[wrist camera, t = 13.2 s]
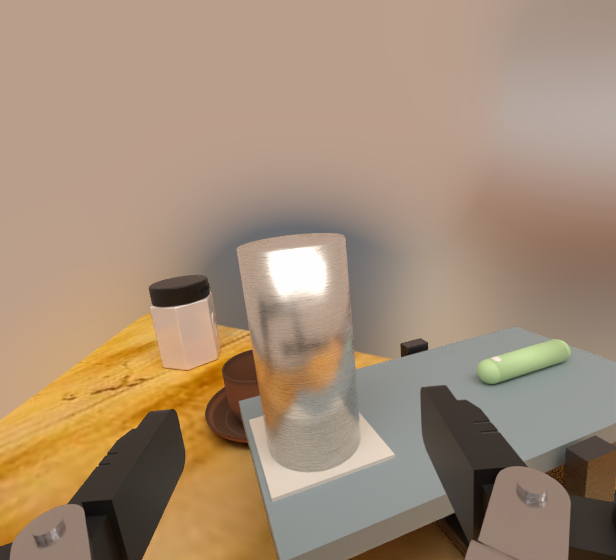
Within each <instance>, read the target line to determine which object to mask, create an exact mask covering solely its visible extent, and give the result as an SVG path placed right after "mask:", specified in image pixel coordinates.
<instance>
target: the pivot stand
mask: <svg viewBox="0 0 616 560" xmlns="http://www.w3.org/2000/svg"><path fill="white" fill-rule="evenodd" d="M426 350H428V342H426V341H424V340H423V339H416V340H412V341H409V342H405V343H401V357H404V356H408V355H412V354H415V353H419V352H423V351H426ZM615 476H616V446H614V445H612V444H610V443H608V442H607V441H605V440H603V439H601V438H599V437H598V436H596V435H595V436H593V437H590V438H588V439H586V440H583V441H581V442H579V443H576V444H574V445H571V446H569V447H567V448H566V454H565V467H564V480H563V487H564V489H565V490H566V491H567V493H568V494H572V495H576V496H580V497H586V498H592V499H598V500H604V501H610V502H613V493H614V484H615ZM436 522H437V524H438V525H439V526H440V527H441V529H442V530H443V531H444V532H445V534H446V535H447V536H448V537H449V539H450V540H451V541H452V543H453V544H454V545H455V546H456V548H457V549H458V550H459V551H460V553H461V554H462V555H463V556H464V558H465V557H466V554H467V550H468V547H469V545H470V544H469V542H468V540H467V537H466V535H465V533H464V531H463V529H462V527H461V525H460V522H459V520H458V518H457V516H456V514H455V513H452V514H450V515H448V516H446V517H443V518H441V519H439V520H437V521H436Z"/></svg>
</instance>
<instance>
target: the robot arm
mask: <svg viewBox="0 0 616 560" xmlns="http://www.w3.org/2000/svg"><path fill="white" fill-rule="evenodd" d="M420 400H421V429H422V437H423V442H424V445H425V448H426V451H427V453H428V455H429V458H430V460H431V462H432V464H433V466H434V468H435V471H436V473H437V475H438V477H439V479H440V481H441V483H442V486H443V488H444V490H445V492H446V494H447V496H448V499H449V501H450V503H451V505H452V507H453V509H454V512H455V514H456V516H457V518H458V520H459V522H460V525H461V527H462V529H463V531H464V533H465V535H466V537H467V540H468V542H469V544H470V545H469V547H468V550H467V554H466V557H465V560H616V491H615V493H614V501H613V502H610V501H604V500H598V499H592V498H586V497H580V496H576V495H572V494H568V493H567V491H566V490H565V489H564V487H563V486H562V485H561V484H560V483H559V482H557V481H556V480H555V479H553V478H552V477H550V476H549V475H547V474H545V473H543V472H541V471H538V470H536V469H532V468H529V467H528V466H527V465H526V464H525V463H524V462H523V460H522V459H521V458H520V457H519V455H518V454H517V453H516V452H515V450H514V449H513V448H512V447H511V446H510V444H509V443H508V442H507V441H506V439H505V438H504V437H503V436H502V434H501V433H500V432H498V430H497V428H496V427H495V426H494V425H493V423H491V422H490V420H489V418H488V417H487V416H486V415H485V414H484V412H483V411H482V410H481V409H480V408H479V407H477V406H476V405H474V404H472V403H471V402H469V401H468V400H457V399H456V398H455V397H454V395H453V394H452V393H451V391H450V390H449V388H448V387H447V386H446V385H438V386H427V387H421V390H420ZM184 464H185V448H184V443H183V438H182V434H181V429H180V424H179V420H178V415H177V412H176V411H175V410H174V409H170V410H159V411H150V412H149V413H148V414H147V415H146V416H145V418H144V419H143V420H142V422H141V423H140V424H139V426H138V427H137V428H136V429H132V430H130V431H129V432H128V433H127V434H125V435H124V436H123V437H121V438H120V439H119V440H117V442H116V443H115V444H114V446H113V447H112V448H111V449H110V451H109V452H108V453H107V456H105V457H104V458H103V459H102V461H101V462H100V463H99V467H96V468H95V470H94V471H93V472H92V473H91V475H90V476H89V477H88V478H87V480H86V481H85V482H84V484H83V485H82V486H81V487H80V489H79V490H78V491H77V492H76V494H75V495H74V496H73V498H72V499H71V500H70V501H69V503H68V504H67V505H62V506H59V507H56V508H53V509H51V510H49V511H47V512H45V513H43V514H42V515H40V516H38V517H37V518H36V519H34V520H33V521H31V522H30V523H29V524H28V525H27V526H26V527H25V528H24V529H23V530H22V531H21V532H20V533H19V534H18V535H17V537H16V538H15V540H14V542H12V543H9V544H6V545H3V546H0V560H142V558H143V556H144V554H145V552H146V549H147V547H148V545H149V543H150V541H151V539H152V536H153V534H154V532H155V530H156V528H157V526H158V523H159V521H160V519H161V517H162V515H163V513H164V510H165V508H166V506H167V504H168V502H169V500H170V497H171V495H172V493H173V491H174V489H175V487H176V484H177V482H178V480H179V478H180V476H181V474H182V471H183V468H184Z"/></svg>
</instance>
